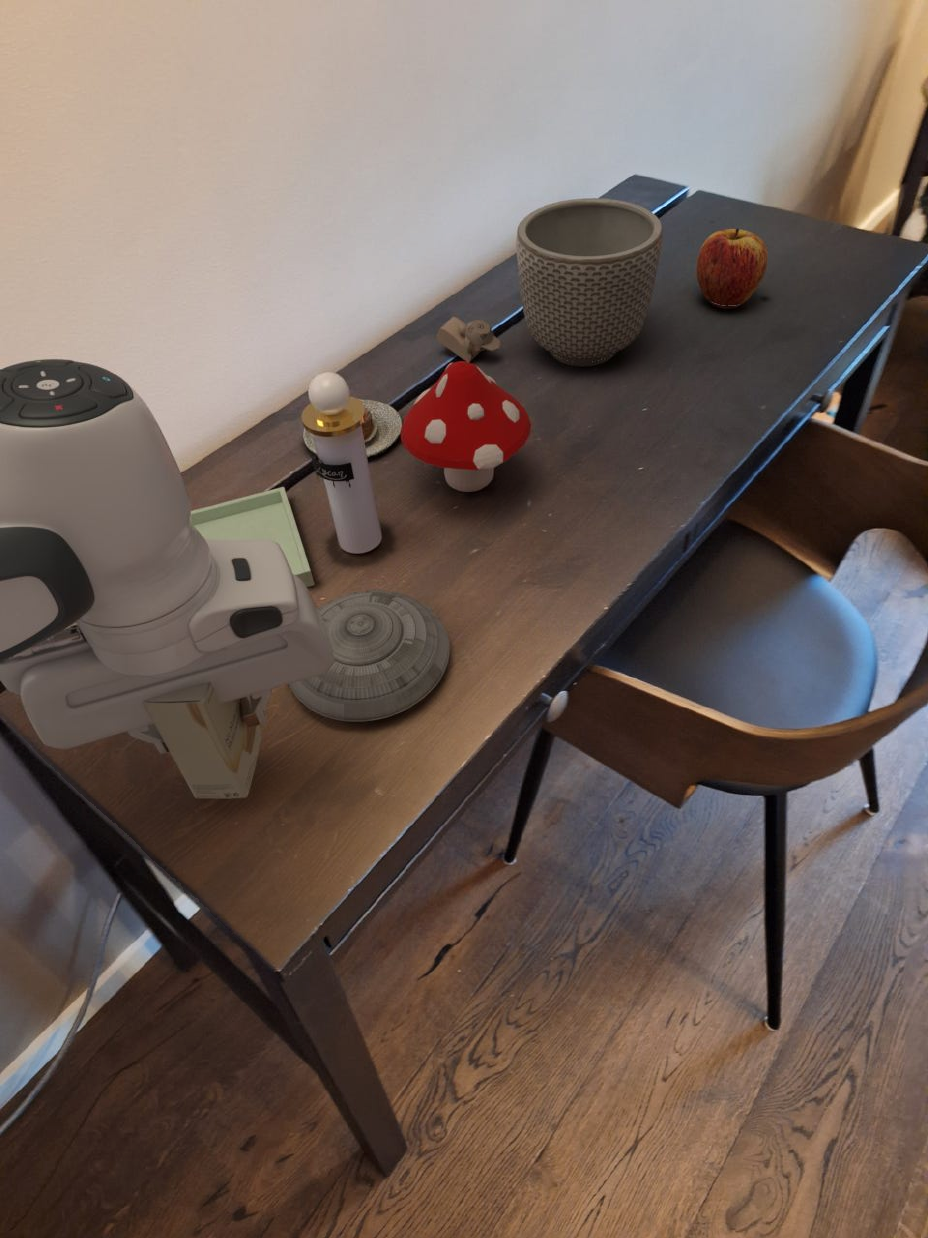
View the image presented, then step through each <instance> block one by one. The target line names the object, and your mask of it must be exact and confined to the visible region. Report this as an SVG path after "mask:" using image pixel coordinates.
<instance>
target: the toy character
mask: <svg viewBox="0 0 928 1238" xmlns="http://www.w3.org/2000/svg"><path fill="white" fill-rule="evenodd" d="M466 323H467V324H466ZM466 323H465V322H463V321H462V320H461V319H460V318H458V317H455V316H452V317H451V318H450V319H449V320H448V321H446V322H445V323H444V324H443V325H442V326H441V327H439V329H438V331H437V335H436V338H435V340H436V341H437V342H438V343H440V344H441V345H443V346H444V347H445V348H447V349H448V350H450V351H451V352H452V353H454V354H455V355H457V356H458V357H460V358H461V359H462V360H463V361H466V362H469V363H471V361H472V360H473V359H474V358H475V357H476V356H477V355H479V354H480V353H481V352H482V351H485V350H487V351H489V352H494V351H497V350H499V349H500V346H501V341H500V340H499V339H498V338H497V337H496V336H495V335H494V332H493V330H492V329H493V328H492V327H491V326H490V325H489V324H488V323H487V322H486V321H484V320H481V319H479V318H478V319H474V320H471V321H469V322H466Z"/></svg>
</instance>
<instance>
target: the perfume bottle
mask: <svg viewBox="0 0 928 1238" xmlns="http://www.w3.org/2000/svg"><path fill="white" fill-rule="evenodd" d="M307 392H308V393H307V395H308V400H309V402H310V403H309V404H307V406H305V407H304V409H303V411H302V413H301V423H302V425H303V429H304V428H305V429H306V430H307V431H308V432H309V433H311V434H313V439H314V443H315V447H316V451H317V455H318V456H317V455H316V454H314V453H315V452H314V453H311V454H310V457H311V462H312V465H313V469H314V472H315V474H316V476H317V482H320V480H319V478H321V479H322V480H323V484H324V488H325V491H326V497H327V501H328V504H329V508H330V513H331V517H332V521H333V525H334V529H335V533H336V537H337V542H338V545H339V547H340V548H341V549H342V550H343V551H345V552H347V553H350V554H365V553H368V552H371V551H372V550H374V549H375V548H377V547H378V546H379V544H380V543H381V541H382V537H383V535H382V528H381V524H380V519H379V512H378V508H377V501H376V497H375V491H374V486H373V480H372V475H371V471H370V465H369V460H368V459H369V458H368V457H367V453H366V448H365V443H364V437H363V432H362V427H361V425H362V423H363V422H364V420H365V417H366V412H365V407H364V404H363V403H362V402H361V401H360V400H358V399H359V398H357V397H354V396H352V395H351V393H350V392H351V391H350V387H349V385H348V383H347V381H346V380H345V379H344V377H342V376H341V375H340V374H338V373H336V372H333V371H324V372H321V373H318V374H316V375H315V376H314V377H313V378H312V380H311V381H310V383H309V385H308V391H307ZM308 449H309V448H308ZM309 451H311V450H310V449H309ZM315 456H316V457H317V459H316V457H315Z"/></svg>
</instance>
